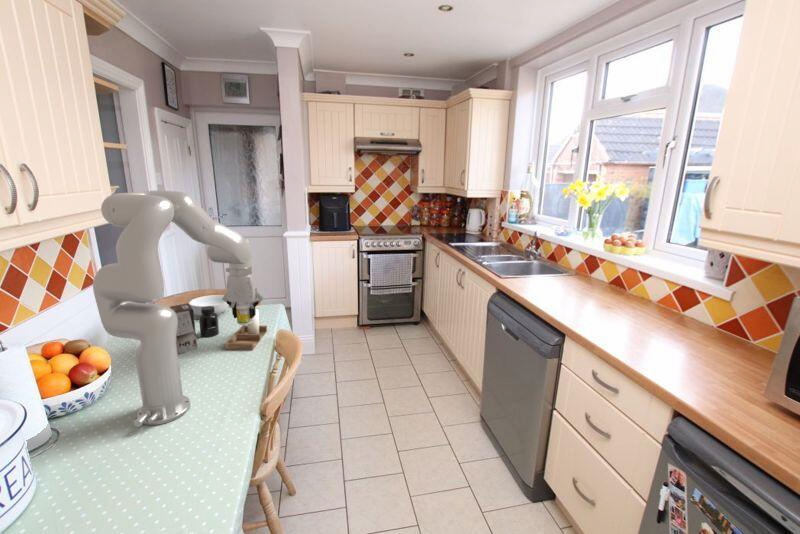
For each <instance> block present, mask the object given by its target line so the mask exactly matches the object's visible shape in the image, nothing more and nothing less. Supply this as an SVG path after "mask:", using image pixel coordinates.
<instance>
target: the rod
mask: <svg viewBox="0 0 800 534" xmlns="http://www.w3.org/2000/svg"><path fill="white" fill-rule="evenodd" d="M255 309H256V315H255V316H254V317H253V318H252V323H250V324H248V334H259V326H260V312H259V309H258V308H256V307H255Z"/></svg>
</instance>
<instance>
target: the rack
mask: <svg viewBox="0 0 800 534" xmlns="http://www.w3.org/2000/svg"><path fill="white" fill-rule="evenodd" d="M266 333H268V326H267V325H259V334H248V325H241V326H240V327H239V329H238V330H237V331H236V332H235V333H234V334H233V335H232V336H231V337H230V339H228V340H227V341H226V342H225V343H224V348H225V351H245V352H246V351H248V352H249V351H254V350H255V348H256V347H257V346H258V344H259V343H260V341H261V340H262V339H263V337H264V336H265V335H266Z"/></svg>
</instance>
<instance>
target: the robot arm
mask: <svg viewBox="0 0 800 534" xmlns="http://www.w3.org/2000/svg"><path fill="white" fill-rule="evenodd" d="M100 210H101V211H100V212H101V215H102V217H103V218H104V220H105V221H106V222H108V224H110V225H112V226H114V227H119V228H120V227H121V228H124V229H123V230H122V232H121V233H120V235H119V237H118V238H117V241H116V245H115V252H116V258H117V262H116V263H115V262H114V263H108V264H105V265H104V266H102V267H101V268H99V269H98V271H97V272H96V274H95V276H94V277H93V283H92V289H93V295H94V299H95V303H96V306H97V307H96V308H97V310H98V311H97V312H98V314H99V318H100V320H101V321H100V322H101V324H102V327H103V329H104V330H105V332H107V334H109V335H110V336H113V337H115V338H121V339H123V338H124V339H130V340H132V339H133V340H135V341H140V345H139V347H138V349H137V351H136V352H135V353H136V354H135V365H136V371H137V377H138V383H139V389H140V398H141V401H142V402H141V403H142V406H141V407H140V408H139V410H138V411H137V414H136V417H137V418H136V419H135V420H134V422H133V425H134V426H135V427H137V428H138V427H141V426H142V425H148V426H155V425H162V424H166V423H170V422H172V421H174V420H176V419H179V418H180V417H181V416H183V415H184V414H186V412H187V411H189V409H190V407H191V401H190V398H189V397H188V396H185V395H183V387H182V386H183V385H182V378H181V372H180V371H181V369H180V364H179V361H180V360H179V355H178V354H179V353H178V350H177V344H176V335H177V326H178V318H177V315H176V313H175V312H174V311H173V310H172V309H171V308H170V306H166V305H163V304H157V303H156V304H155V303H153V302H155V301H158V300H160V298H162V296H163V294H164V292H165V283H164V282H165V281H164V277H163V272H162V266H161V262H160V255H159V241H160V240H161V237H162V235H163V233H164V232H165V230H166V229H167V228H168V227H169V226H170V225H171V223H173V224H175V225H176V226H177V227H178V228H179V229H180V230H181V231H183V232H184V234H186V235H187V236H188V237H189V238H190V239H191V240H194V241H195V242H198V243H201V244H203V245H207V246H208V247H207V249H206V255H207V257H208V259H209V260H210V261H212V262H213V263H217V264H228V265H229V266H228V267H225V272H226V273H227V272H228V273H229V274H228V275H227V277H226V278H227V279H226V293H225V294H224V297H223V298H222V300H224V301H225V302H227V304H228V305H229V307H230V309H231V311H232V316H233V318H234V319H237V312H236V305H237V304H238V302H249V304H250V307H251V308H250V318H251V319H252V318H253V317H254V316H255V315H256V309H257V308H256V307H257V306H258V305H259V304H260V303H261V302H262V301H263V300H264V297H263V295H261V294H260V293H259V291H258V286H257V282H256V281H257V280H256V278H255V274H254V273H253V270H252V255H253V250H252V247H251V243H250V240H249V239H248V238H246V237H243V235H241V234H240V233H239V232H237V231H236V230H234V229H232V228H231V227H228V226H226V225H224V224H222V223H220V222H218V221H217V220H215V219H213V218H212V217H211V215H209V214H208V212H206V210H205V209H204V208H203V207H202V206H201V205H200V204H199V203H198V201H196V200H195V199H194V198H193V197H192V196H191V194H188V193H186V192H184V191H175V190H174V191H173V190H144V191H135V192H134V191H133V192H118V193H113V194H110V195H107V197H106V198H105V199H104V200H103V201H102V203H101V207H100ZM256 299H257V300H256ZM255 308H256V309H255Z"/></svg>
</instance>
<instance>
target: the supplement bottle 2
mask: <svg viewBox="0 0 800 534" xmlns="http://www.w3.org/2000/svg"><path fill="white" fill-rule="evenodd" d="M250 308H251V307H250V304H249V302H237V305H236V312H237V318H236V323H237V324H238V325H240V326H243V325H248V324H250V323H252V319H251V318H250Z"/></svg>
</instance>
